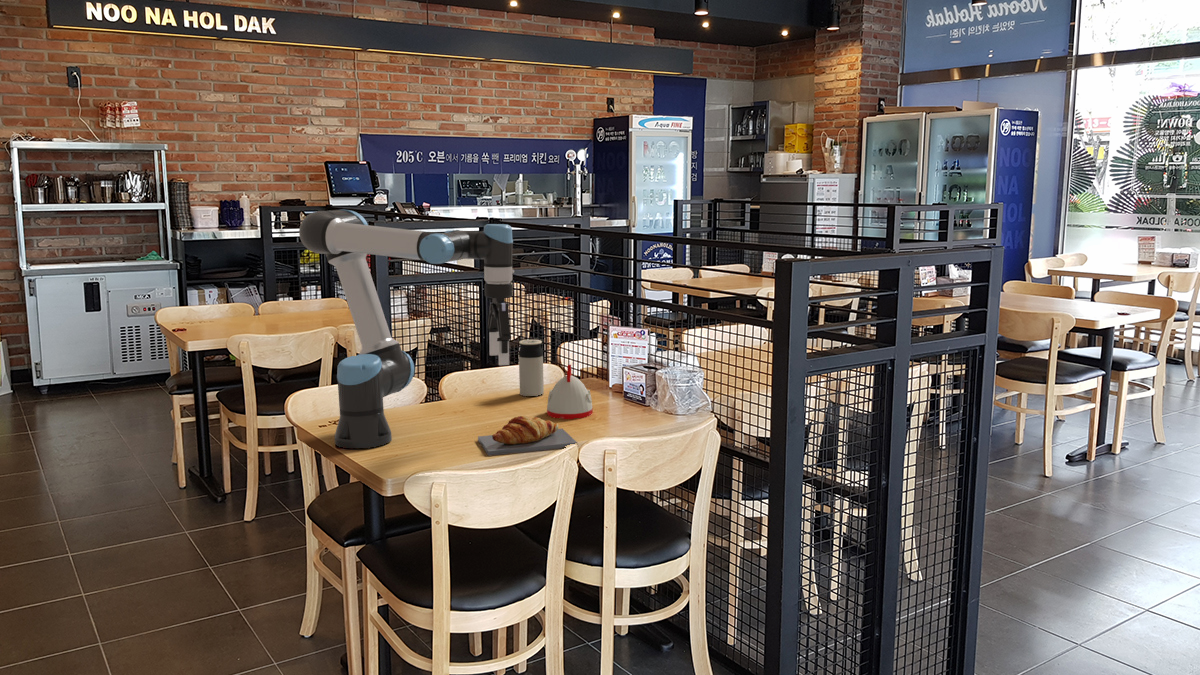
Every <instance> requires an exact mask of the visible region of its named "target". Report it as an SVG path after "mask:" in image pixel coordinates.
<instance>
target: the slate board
mask: <svg viewBox="0 0 1200 675" xmlns="http://www.w3.org/2000/svg"><path fill="white" fill-rule="evenodd" d="M492 435H493V434H490V435H478V436H477V441H478V443H479V444H480V446H481V447H482V449H483V450H484V452H485V453H486V454H487V456H489V457H490V456H501V455H509V454H511V455H512V454H520V453H530V452H541V451H548V450H558V449H559V450H560V448H561V449H563V448H562V447H565V446H567V445H570V444H575V443H577V444H578V441H576V439H574V438H573V437H572V436H571V435H570V434H569V433H568V432H567V431H566V430H565V429H564V428H558V430H557V431H556V432H554V433H551V434H550V435H549V436H547V437H544V438H542V439H541V440H538V441H534V442H529V443H520V444H506V443H499V442H497V441H494V440H493V438H492Z"/></svg>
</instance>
